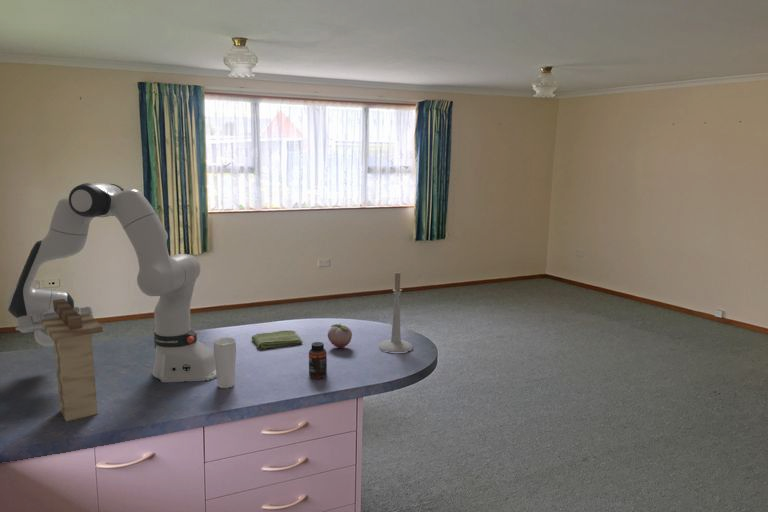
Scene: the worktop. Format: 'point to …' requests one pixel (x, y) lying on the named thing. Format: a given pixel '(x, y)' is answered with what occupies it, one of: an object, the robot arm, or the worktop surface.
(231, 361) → the drinking glass
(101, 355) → the worktop surface
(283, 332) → the washcloth
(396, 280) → the candlestick
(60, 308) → the block
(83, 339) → the stand
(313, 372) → the supplement bottle
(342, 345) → the decorative fruit
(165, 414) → the worktop surface
